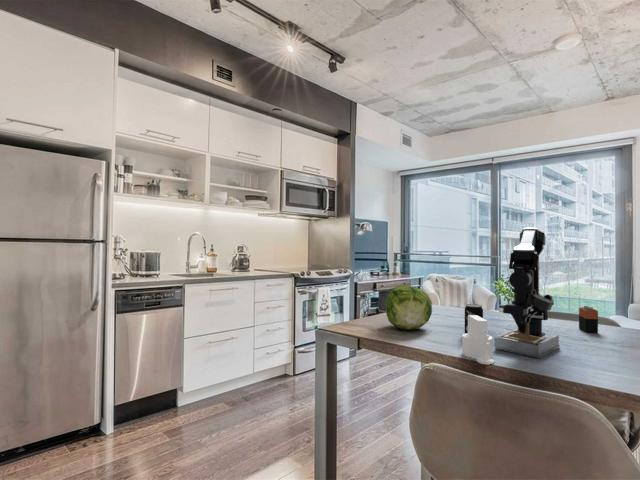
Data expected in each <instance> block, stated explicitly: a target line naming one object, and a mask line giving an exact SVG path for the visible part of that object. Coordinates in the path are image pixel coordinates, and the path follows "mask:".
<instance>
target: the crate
mask: <svg viewBox="0 0 640 480" xmlns="http://www.w3.org/2000/svg"><path fill="white" fill-rule="evenodd" d="M517 328H518V327H517ZM503 338H508V339H513V340H518V341H524V342H529V343H534V344H536V343H538V342H540V341H542V340H544V339H545V337H542V336H534V335H529V322H526V327H525V332H524V333H521V332H520V330H519V328H518V333H514V332H513V333H510V334H508V335H505V336H503Z"/></svg>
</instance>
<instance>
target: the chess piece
mask: <svg viewBox="0 0 640 480" xmlns="http://www.w3.org/2000/svg"><path fill="white" fill-rule="evenodd" d="M483 333H484V335H482V338H483V341H484V342H482V344H483V345H484V349H483V355H482V357H479V358H477V359H476V362H477V363H478V364H481V365H488V366H491V365H490V364H492V365H494V364H495V360H494V359H493V358H490V357H489V355H488V348H487V345H489V343H488V342H487V341H488V338H489V336H490V335H489V331H488V328H487V329H484V331H483ZM493 363H494V364H493Z"/></svg>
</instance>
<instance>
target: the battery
mask: <svg viewBox="0 0 640 480" xmlns="http://www.w3.org/2000/svg"><path fill="white" fill-rule="evenodd" d="M578 329H579V330H580V331H582V332H583V333H584V332H585V333H588V334H590V333H591V334H598V333H599V311H598V310H597V309H595V308H594V307H592V306H588V305H584V306H583V307H578Z"/></svg>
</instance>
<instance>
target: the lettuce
mask: <svg viewBox="0 0 640 480" xmlns="http://www.w3.org/2000/svg"><path fill="white" fill-rule="evenodd" d="M432 305H433V304H432V301H431V299H430V297H429V295H428V294H427V293H426V292H424V291H423V290H422V289H420V288H418V287H415V286H411V285H406V284H404V285H401V284H399V285H397V286H395V287H392V289H391V290H390V291H389V293H388V294H387V297H386V300H385V310H384V311H385V314H386V317H387V319H388V322H389V323H390V324H391V325H392V326H394V327H395V328H397V329H402V330H405V331H406V330H409V331H411V330H416V329H419V328H422V327H423V326H425V325H426V324H427V323H428V322H429V320H430V318H431V317H432V314H433V306H432Z"/></svg>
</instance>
